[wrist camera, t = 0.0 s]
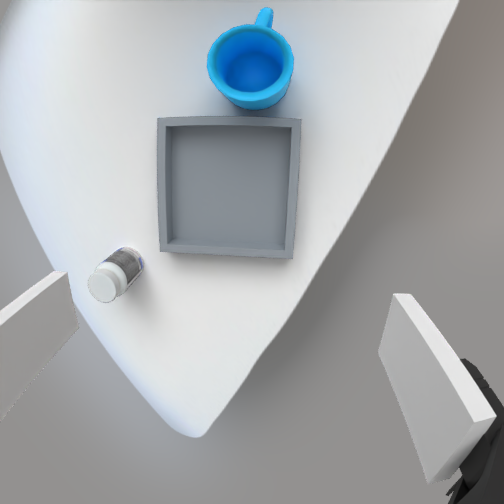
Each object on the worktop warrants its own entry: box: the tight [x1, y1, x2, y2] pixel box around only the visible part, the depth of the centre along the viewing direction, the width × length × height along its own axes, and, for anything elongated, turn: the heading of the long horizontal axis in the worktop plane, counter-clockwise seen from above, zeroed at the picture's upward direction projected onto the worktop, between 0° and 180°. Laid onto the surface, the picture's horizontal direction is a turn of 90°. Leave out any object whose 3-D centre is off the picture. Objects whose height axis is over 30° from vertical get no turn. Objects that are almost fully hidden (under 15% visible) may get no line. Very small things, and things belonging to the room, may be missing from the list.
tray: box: [157, 116, 301, 259], centre depth 36 cm, size 16×16×3 cm
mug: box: [207, 7, 294, 110], centre depth 29 cm, size 12×8×8 cm
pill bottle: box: [88, 247, 143, 303], centre depth 38 cm, size 5×5×8 cm
